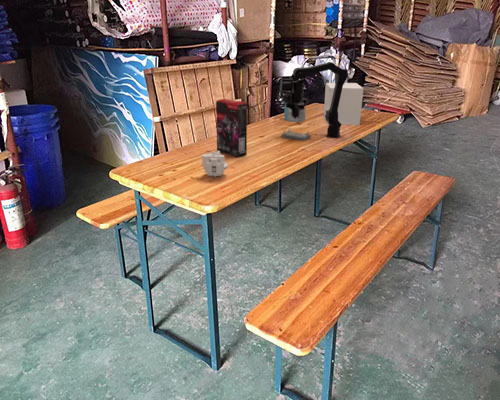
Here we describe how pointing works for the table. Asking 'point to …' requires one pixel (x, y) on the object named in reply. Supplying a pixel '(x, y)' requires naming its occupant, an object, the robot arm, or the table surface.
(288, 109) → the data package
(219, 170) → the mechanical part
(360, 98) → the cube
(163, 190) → the table surface
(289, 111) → the block
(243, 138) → the graphics card box
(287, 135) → the pin tray
